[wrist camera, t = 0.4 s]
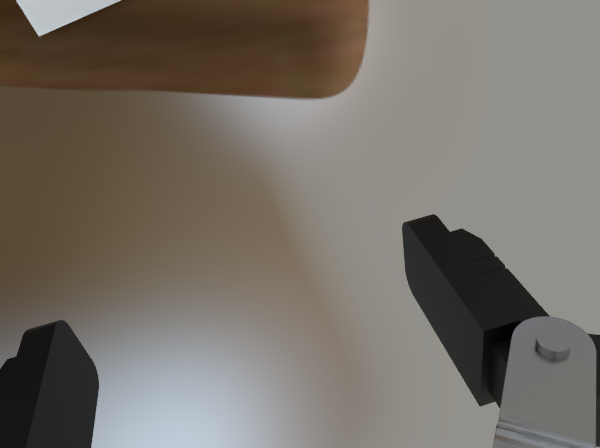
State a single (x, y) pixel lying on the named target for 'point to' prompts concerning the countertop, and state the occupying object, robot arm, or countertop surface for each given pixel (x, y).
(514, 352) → the robot arm
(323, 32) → the countertop surface
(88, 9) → the white square hole block
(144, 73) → the countertop surface
